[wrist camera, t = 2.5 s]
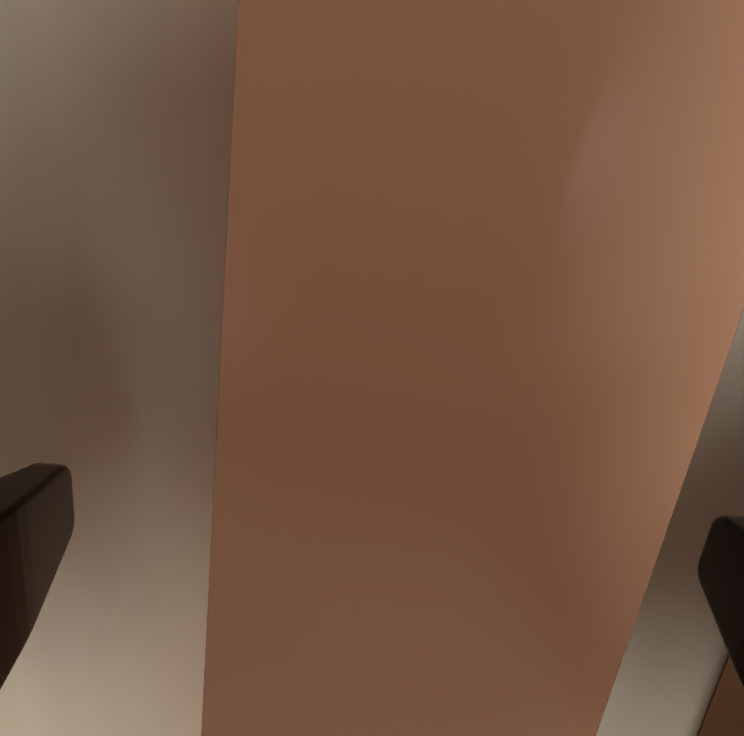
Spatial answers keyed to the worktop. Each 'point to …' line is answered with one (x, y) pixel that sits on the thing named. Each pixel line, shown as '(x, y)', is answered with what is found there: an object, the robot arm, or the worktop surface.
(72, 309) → the worktop surface
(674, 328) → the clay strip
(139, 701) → the worktop surface
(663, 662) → the worktop surface
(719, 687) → the drying rack
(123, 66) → the worktop surface
